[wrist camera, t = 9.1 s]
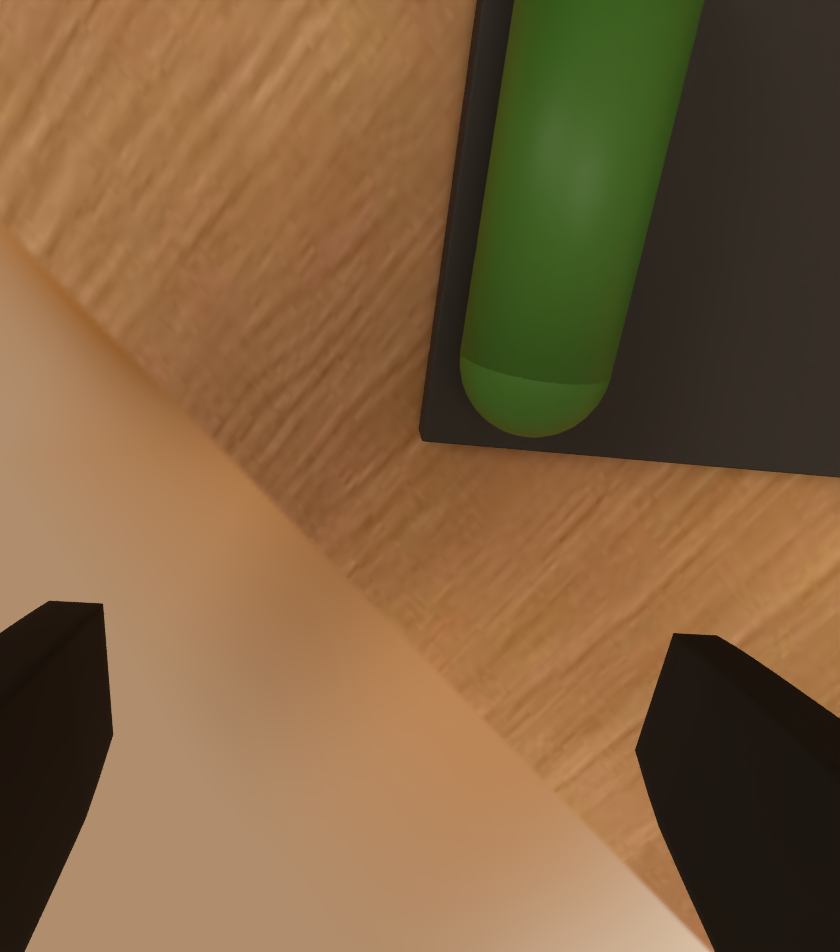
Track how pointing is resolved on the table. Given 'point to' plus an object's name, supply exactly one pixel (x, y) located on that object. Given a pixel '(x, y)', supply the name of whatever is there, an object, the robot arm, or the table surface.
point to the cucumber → (569, 202)
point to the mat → (695, 257)
